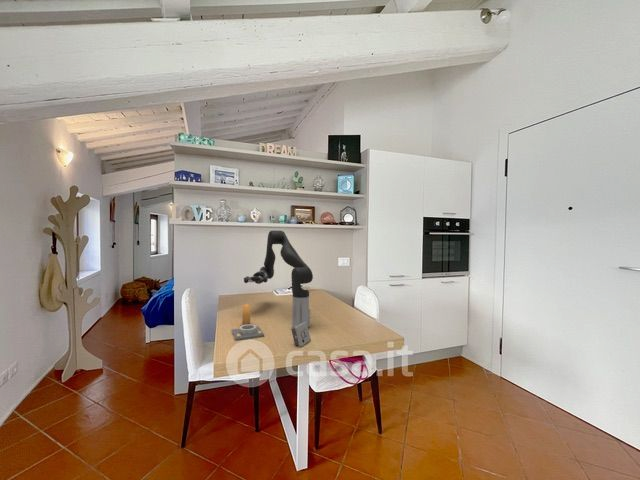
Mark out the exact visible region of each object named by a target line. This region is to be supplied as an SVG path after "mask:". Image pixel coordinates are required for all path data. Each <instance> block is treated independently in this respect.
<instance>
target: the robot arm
mask: <svg viewBox="0 0 640 480" xmlns="http://www.w3.org/2000/svg"><path fill="white" fill-rule="evenodd" d="M273 245H281V246H282V247H281V249H280V252H279V253H280V257H281V258H282V260H283V261H284V263H286V264H287V265H288V266H291V267H292V270H291V276H290V277H291V291H292V311H291V312H292V315H291V316H292V317H291V318H292V319H291V320H292V323H291V326H292V328H294V327H296V326H298V325H300V324H302V323H304V322H307V325H308V328H310V327H311V309H310V291H309V290H307V289H305V288H302V287H301V286H302V285H304V284H310V283H311V282H312V281H313V278H314V275H313V271H312V269H311V268H310V267H309V266H308V265H307V264H306V262H305V261H304V260H303V259H302V258H301V256H300V255H299V254H298V252H297V250H296V249H295V248H294V246H293V245H292V244H291V242H290V239H288V236H287V235H286V233H285V232H284V230H270V231H269V232H268V234H267V242H266V252H265V258H264V262H263V266H262V267H260V269H259V270H258V271H256V272H255V273H254V274H253V275H252V276H247V275H246V276H245V277H243V282H244V283H245V284H247V283H255V284H257V285H258V284H259V285H260V284H262V283H267V282H268V280H271V279H272V278H274V276H275V275H274V274H275V268H274V267H275V262H276V253H275V251H274V250H273Z"/></svg>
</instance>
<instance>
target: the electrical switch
mask: <svg viewBox="0 0 640 480" xmlns="http://www.w3.org/2000/svg"><path fill="white" fill-rule="evenodd" d="M291 335H292V338H293V343H294V346H299V348H301V347H303V346H305V345H307V344H308V343H309V342H311V340H312V339H311V334H310V330H309V327H308V325H307V322H304V323H302V324H300V325H298V326H296V327H294V328H293V327H292V328H291Z"/></svg>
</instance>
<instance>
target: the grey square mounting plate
mask: <svg viewBox="0 0 640 480" xmlns="http://www.w3.org/2000/svg"><path fill="white" fill-rule="evenodd" d="M231 332H232V336H233V339H234V341H235V342H237V341H242V340H243V341H244V340H250V339H259V338H263V337H264V338H265V333H264V332H263V330H262V329H261V328H260V326H259V325H256V324H251V323H250V324H249V325H240V327H238V328H233V329H231Z"/></svg>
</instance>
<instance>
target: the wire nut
mask: <svg viewBox="0 0 640 480" xmlns="http://www.w3.org/2000/svg"><path fill="white" fill-rule="evenodd" d="M241 314H242V325H241V326H243V325H249V324H250V325H251V304H250V303H245V304H242V313H241Z"/></svg>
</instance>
